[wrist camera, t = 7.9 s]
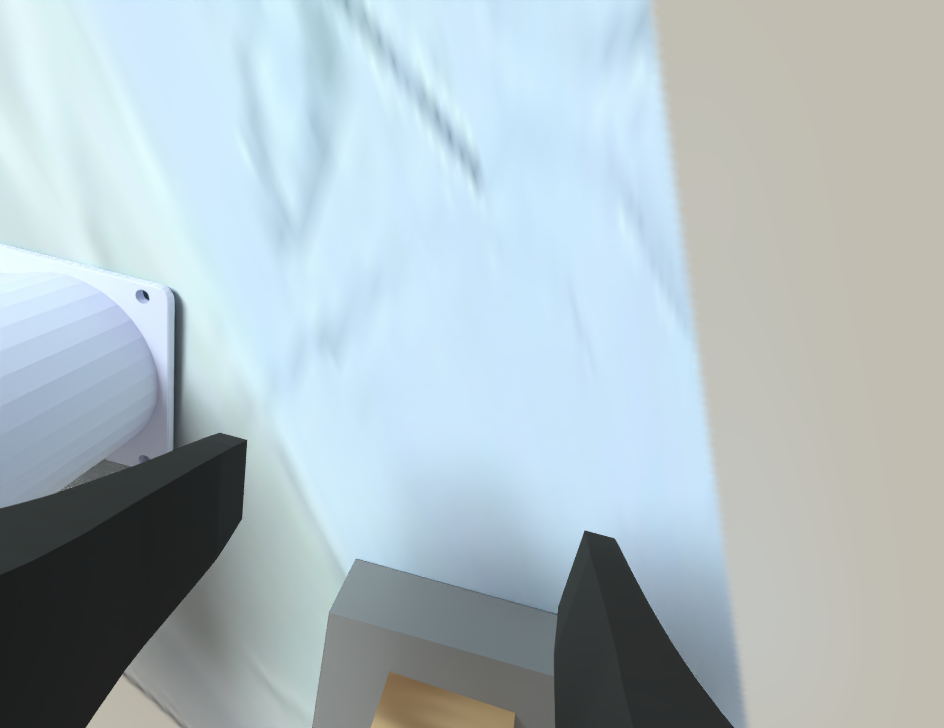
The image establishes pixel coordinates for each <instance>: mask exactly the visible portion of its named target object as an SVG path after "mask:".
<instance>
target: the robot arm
mask: <svg viewBox="0 0 944 728" xmlns="http://www.w3.org/2000/svg"><path fill="white" fill-rule="evenodd" d="M143 290H144V291H146V292H147V293H148V295H149V300H147V299H146V298H145V297H144V295H143ZM174 316H175V300H174V295H173V293H172V292H171V290H170V289H169V288H168V287H167V286H164V285H162V284H159V283H155V282H151V281H147V280H143V279H139V278H135V277H131V276H127V275H123V274H119V273H115V272H111V271H107V270H103V269H99V268H95V267H91V266H87V265H83V264H79V263H75V262H71V261H67V260H64V259H60V258H56V257H52V256H48V255H44V254H40V253H36V252H32V251H28V250H24V249H20V248H16V247H12V246H8V245H4V244H0V728H86V726H87V725H88V723H89V722H90V720H91V719H92V717H93V716H94V714H95V713H96V711H97V710H98V708H99V707H100V705H101V704H102V703H103V701H104V700H105V698H106V697H107V695H108V694H109V693H110V691H111V690H112V688H113V687H114V685H115V684H116V682H117V681H118V679H119V678H120V677H121V675H122V674H123V672H124V671H125V669H126V668H127V667H128V666H129V664H130V663H131V662H132V660H133V659H134V658H135V657H136V655H137V654H138V653H139V651H140V650H141V649H142V648H143V646H144V645H145V644H146V643H147V642H148V640H149V639H150V638H151V637H152V636H153V634H154V633H155V632H156V631H157V630H158V629H159V627H160V626H161V625H162V624H163V623H164V621H165V620H166V619H167V618H168V617H169V615H170V614H171V613H172V612H173V611H174V610H175V608H176V607H177V606H178V605H179V604H180V602H181V601H182V600H183V599H184V598H185V597H186V595H187V594H188V593H189V592H190V591H191V589H192V588H193V587H194V586H195V585H196V583H197V582H198V581H199V580H200V579H201V577H202V576H203V575H204V574H205V572H206V571H207V570H208V569H209V568H210V566H211V565H212V564H213V563H214V561H215V560H216V559H217V557H218V556H219V554H220V553H221V551H222V550H223V548H224V547H225V545H226V544H227V542H228V541H229V539H230V537H231V536H232V534H233V533H234V531H235V529H236V528H237V526H238V524H239V523H240V521H241V520H242V511H243V495H244V480H245V465H246V449H247V440H245V439H241V438H237V437H234V436H230V435H226V434H222V433H218V434H215V435H212V436H209V437H206V438H203V439H201V440H198V441H195V442H193V443H190V444H188V445H185V446H183V447H180V448H178V449H175V450H173V425H174ZM145 456H147V457H148V458H149V459H150V460H147V458H146V457H145ZM103 459H105V460H108V461H112V462H116V463H119V464H123V465H126V466H130V468H127V469H125V470H122V471H119V472H116V473H113V474H110V475H108V476H105V477H102V478H99V479H96V480H93V481H91V482H88V483H85V484H82V485H79V486H76V487H73V488H70V489H67V490H64V491H61V492H59V491H60V490H61V489H63V488H64V487H66V486H67V485H68V484H70V483H71V482H73V481H74V480H75V479H77V478H78V477H80V476H81V475H82V474H84V473H85V472H87V471H88V470H89V469H91V468H92V467H94V466H95V465H96V464H98V463H99V462H101V461H102V460H103ZM57 492H58V493H57ZM554 700H555V728H734V727H733V726H732V725H731V724H730V722H729V721H728V720H727V719H726V717H725V716H724V715H723V714H722V712H721V711H720V710H719V709H718V707H717V706H716V705H715V703H714V702H713V701H712V699H711V698H710V697H709V695H708V694H707V693H706V691H705V690H704V689H703V687H702V686H701V685H700V684H699V682H698V681H697V679H696V678H695V677H694V675H693V674H692V672H691V671H690V670H689V668H688V667H687V665H686V664H685V662H684V661H683V659H682V658H681V656H680V655H679V653H678V651H677V650H676V648H675V647H674V645H673V644H672V642H671V641H670V639H669V637H668V636H667V634H666V632H665V631H664V629H663V627H662V626H661V624H660V622H659V621H658V619H657V617H656V615H655V614H654V612H653V610H652V608H651V607H650V605H649V603H648V601H647V599H646V598H645V596H644V594H643V592H642V590H641V588H640V586H639V585H638V583H637V581H636V579H635V577H634V575H633V573H632V571H631V569H630V567H629V565H628V563H627V561H626V559H625V557H624V555H623V553H622V551H621V549H620V547H619V545H618V544H617V542H616V540H615V538H611V537H607V536H603V535H600V534H596V533H592V532H588V531H584V534H583V537H582V540H581V543H580V546H579V549H578V551H577V554H576V557H575V560H574V563H573V566H572V569H571V572H570V575H569V577H568V580H567V583H566V586H565V589H564V592H563V595H562V598H561V601H560V604H559V606H558V616H557V625H556V635H555V646H554Z"/></svg>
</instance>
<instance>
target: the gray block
mask: <svg viewBox="0 0 944 728" xmlns="http://www.w3.org/2000/svg"><path fill="white" fill-rule="evenodd" d="M557 616H558V615H556V614H553V613H549V612H545V611H542V610H538V609H535V608H531V607H527V606H524V605H520V604H517V603H513V602H509V601H506V600H502V599H499V598H495V597H491V596H488V595H484V594H481V593H477V592H473V591H470V590H466V589H463V588H459V587H455V586H452V585H448V584H445V583H441V582H437V581H434V580H430V579H427V578H423V577H419V576H416V575H412V574H409V573H405V572H402V571H398V570H394V569H391V568H387V567H384V566H380V565H376V564H373V563H369V562H366V561H362V560H358V559H355V561H354V563H353V565H352V567H351V569H350V571H349V573H348V575H347V577H346V579H345V581H344V583H343V585H342V587H341V589H340V591H339V593H338V595H337V597H336V599H335V601H334V603H333V605H332V607H331V609H330V611H329V616H328V623H327V630H326V637H325V644H324V650H323V657H322V664H321V671H320V678H319V685H318V691H317V698H316V705H315V712H314V719H313V725H312V728H371V725H372V722H373V719H374V716H375V713H376V710H377V707H378V704H379V702H380V699H381V696H382V693H383V690H384V687H385V684H386V681H387V678H388V675H389V672H393V673H396V674H399V675H402V676H405V677H408V678H411V679H414V680H417V681H420V682H423V683H426V684H429V685H432V686H435V687H438V688H441V689H444V690H447V691H450V692H453V693H456V694H459V695H462V696H465V697H468V698H471V699H474V700H477V701H480V702H483V703H486V704H489V705H492V706H495V707H498V708H502V709H505V710H508V711H511V712H514V713H515V719H514V728H555V700H554V646H555V635H556V625H557Z"/></svg>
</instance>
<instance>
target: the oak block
mask: <svg viewBox="0 0 944 728" xmlns="http://www.w3.org/2000/svg"><path fill="white" fill-rule="evenodd" d="M514 719H515V713H514V712H511V711H508V710H505V709H502V708H498V707H495V706H492V705H489V704H486V703H483V702H480V701H477V700H474V699H471V698H468V697H465V696H462V695H459V694H456V693H453V692H450V691H447V690H444V689H441V688H438V687H435V686H432V685H429V684H426V683H423V682H420V681H417V680H414V679H411V678H408V677H405V676H402V675H399V674H396V673H393V672H389V675H388V678H387V681H386V684H385V687H384V690H383V693H382V696H381V699H380V702H379V704H378V707H377V710H376V713H375V716H374V719H373V722H372V725H371V728H514Z"/></svg>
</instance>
